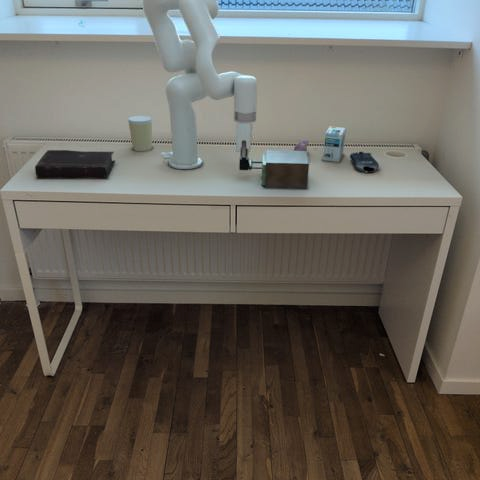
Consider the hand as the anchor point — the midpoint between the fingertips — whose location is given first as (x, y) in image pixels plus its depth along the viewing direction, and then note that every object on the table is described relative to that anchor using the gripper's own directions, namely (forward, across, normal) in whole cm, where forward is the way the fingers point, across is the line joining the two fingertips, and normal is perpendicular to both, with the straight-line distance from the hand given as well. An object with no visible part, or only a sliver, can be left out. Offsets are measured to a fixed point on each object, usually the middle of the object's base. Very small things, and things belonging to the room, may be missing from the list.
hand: (243, 169), depth 192 cm
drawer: (+3, 0, +11) cm, 11 cm away
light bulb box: (+4, -28, +35) cm, 45 cm away
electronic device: (+4, -19, +46) cm, 50 cm away
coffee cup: (+5, -34, -43) cm, 55 cm away
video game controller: (+4, -31, +22) cm, 38 cm away
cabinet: (+4, 0, +15) cm, 16 cm away
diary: (+5, -5, -62) cm, 62 cm away
